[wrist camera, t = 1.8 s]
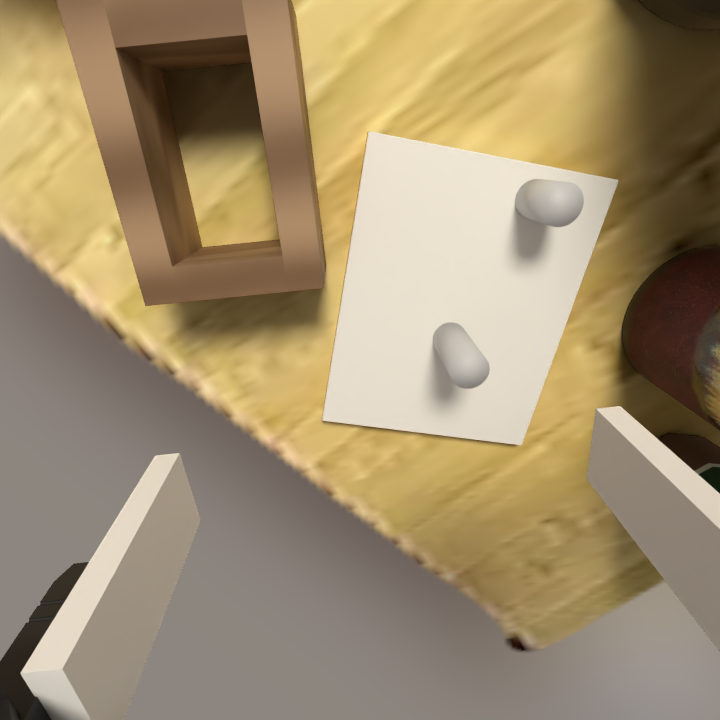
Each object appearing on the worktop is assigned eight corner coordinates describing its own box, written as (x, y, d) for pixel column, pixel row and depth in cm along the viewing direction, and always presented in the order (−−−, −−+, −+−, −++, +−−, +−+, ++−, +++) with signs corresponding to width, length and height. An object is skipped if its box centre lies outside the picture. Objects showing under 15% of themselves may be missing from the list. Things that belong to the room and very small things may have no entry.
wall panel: (367, 132, 28) (376, 124, 22) (610, 179, 30) (678, 184, 24) (322, 413, 36) (319, 464, 30) (516, 438, 37) (550, 490, 31)
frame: (116, 32, 25) (55, -3, 20) (295, 15, 25) (284, -25, 20) (179, 280, 31) (145, 305, 26) (326, 265, 31) (323, 287, 26)
